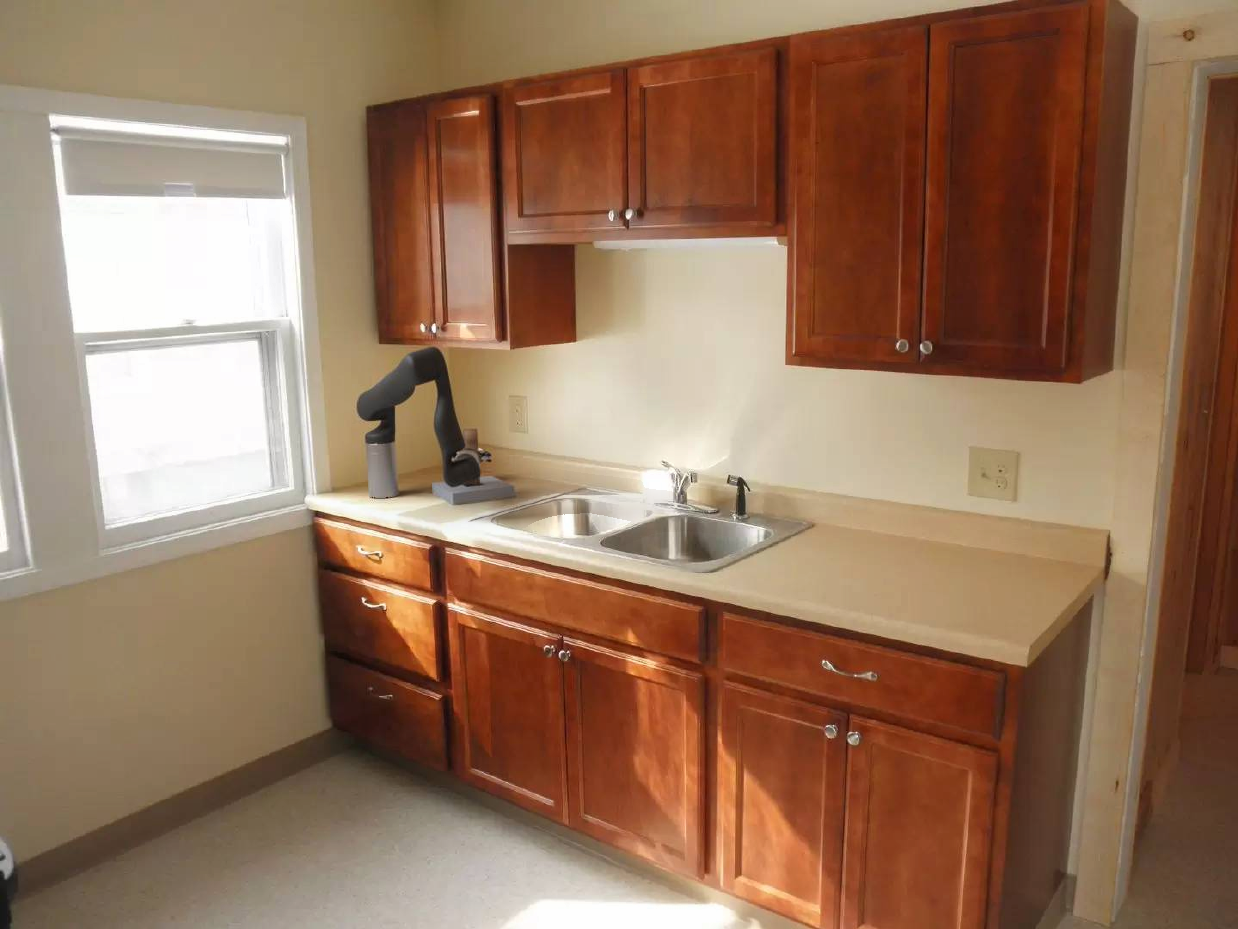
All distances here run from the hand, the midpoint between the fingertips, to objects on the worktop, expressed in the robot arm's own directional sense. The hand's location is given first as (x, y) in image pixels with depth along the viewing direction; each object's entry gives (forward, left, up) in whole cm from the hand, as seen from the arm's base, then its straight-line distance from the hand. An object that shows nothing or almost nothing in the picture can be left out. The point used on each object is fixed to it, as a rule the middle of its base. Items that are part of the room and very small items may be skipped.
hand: (471, 453), depth 323 cm
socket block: (+2, -1, -13) cm, 13 cm away
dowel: (+3, -1, -10) cm, 10 cm away
